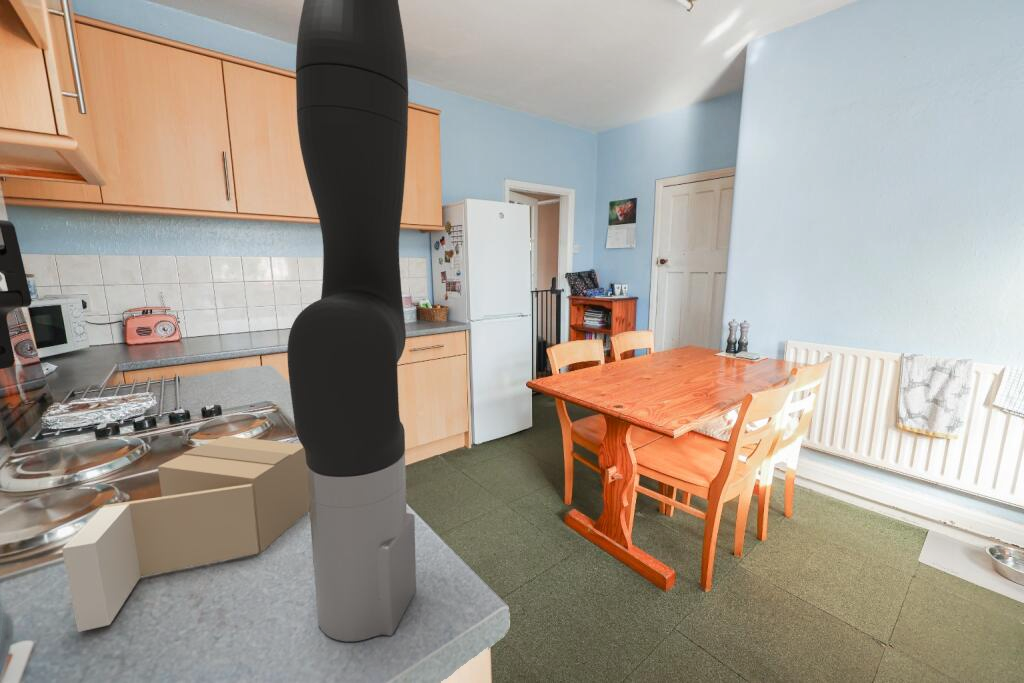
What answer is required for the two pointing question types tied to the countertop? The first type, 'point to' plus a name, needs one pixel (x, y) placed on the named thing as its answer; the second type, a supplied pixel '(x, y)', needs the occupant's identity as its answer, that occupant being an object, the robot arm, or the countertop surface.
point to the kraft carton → (246, 478)
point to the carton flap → (153, 545)
